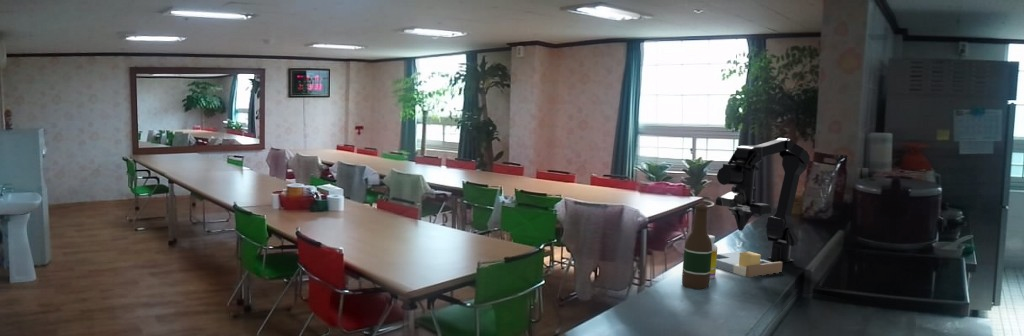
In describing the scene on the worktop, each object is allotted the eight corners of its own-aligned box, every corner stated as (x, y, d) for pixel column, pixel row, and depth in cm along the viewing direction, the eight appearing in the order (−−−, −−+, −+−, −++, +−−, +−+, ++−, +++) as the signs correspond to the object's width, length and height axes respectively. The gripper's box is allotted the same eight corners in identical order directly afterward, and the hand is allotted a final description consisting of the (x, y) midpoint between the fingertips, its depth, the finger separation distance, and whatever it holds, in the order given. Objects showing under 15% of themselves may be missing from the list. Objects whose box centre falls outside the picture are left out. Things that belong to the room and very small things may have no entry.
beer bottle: (709, 284, 196) (716, 204, 194) (708, 291, 189) (715, 208, 186) (682, 281, 199) (688, 202, 196) (680, 287, 191) (686, 205, 189)
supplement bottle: (712, 274, 208) (716, 234, 207) (717, 280, 202) (720, 238, 200) (691, 272, 209) (694, 233, 207) (694, 278, 202) (698, 237, 201)
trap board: (735, 259, 231) (736, 249, 231) (781, 272, 215) (782, 262, 214) (702, 262, 223) (703, 252, 223) (748, 277, 207) (749, 266, 206)
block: (748, 263, 214) (749, 251, 214) (759, 267, 211) (760, 254, 210) (738, 264, 212) (739, 252, 212) (750, 268, 208) (751, 255, 208)
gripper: (705, 180, 223) (702, 226, 224) (750, 188, 207) (746, 237, 208) (728, 180, 228) (725, 224, 230) (774, 187, 212) (770, 235, 214)
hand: (740, 230), depth 220 cm, fingers closed
